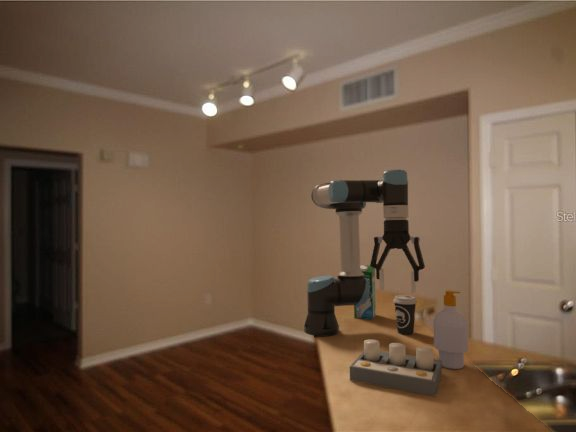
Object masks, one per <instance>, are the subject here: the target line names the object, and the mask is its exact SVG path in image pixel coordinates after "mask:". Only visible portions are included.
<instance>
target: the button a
mask: <svg viewBox="0 0 576 432" xmlns="http://www.w3.org/2000/svg"><path fill="white" fill-rule="evenodd" d="M363 351H364V360H367V361H374V362H380V351H381V350H380V341H379V340H377V339H369V338H368V339H365V340H364V341H363Z"/></svg>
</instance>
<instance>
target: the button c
mask: <svg viewBox="0 0 576 432" xmlns="http://www.w3.org/2000/svg"><path fill="white" fill-rule="evenodd" d="M415 356H416V369H422V370H428V371H434V367H433V359H434V349H433V348H431V347H428V346H417V347H416V348H415Z"/></svg>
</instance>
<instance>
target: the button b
mask: <svg viewBox="0 0 576 432" xmlns="http://www.w3.org/2000/svg"><path fill="white" fill-rule="evenodd" d="M388 349H389V350H388V352H389V363H390V364H392V365H398V366H404V367H405V366H406V356H405V355H406V345H405V344H403V343H401V342H400V343H399V342H392V343H389V345H388Z"/></svg>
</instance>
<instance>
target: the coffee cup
mask: <svg viewBox="0 0 576 432" xmlns="http://www.w3.org/2000/svg"><path fill="white" fill-rule="evenodd" d="M392 302H393V304H394V310H395V312H394V313H395V321H396V331H397V333H398V334H400V335H404V336H406V335H407V336H410V335H414V331H415V320H416V319H415V317H416V316H415V315H416V304H417V303H418V302H417V299H416V298H415V296H413V295H407V294H401V295H400V294H399V295H395V296H394V299H393V300H392Z"/></svg>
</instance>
